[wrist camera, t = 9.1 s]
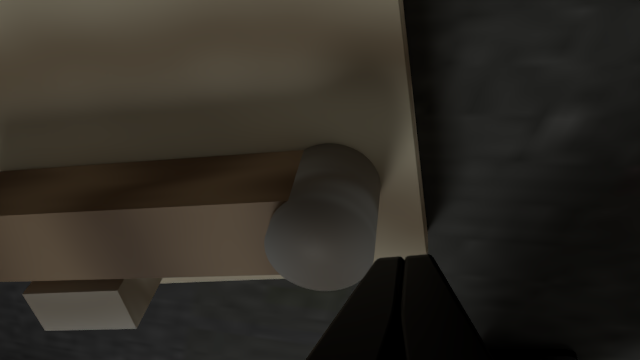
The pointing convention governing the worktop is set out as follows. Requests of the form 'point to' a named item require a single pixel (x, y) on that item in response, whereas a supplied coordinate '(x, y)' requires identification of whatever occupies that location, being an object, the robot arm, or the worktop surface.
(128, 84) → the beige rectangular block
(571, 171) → the worktop surface
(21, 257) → the brown square bar
